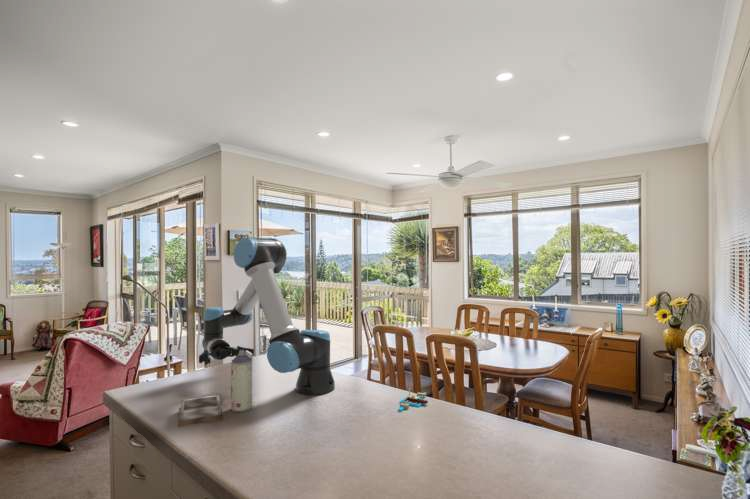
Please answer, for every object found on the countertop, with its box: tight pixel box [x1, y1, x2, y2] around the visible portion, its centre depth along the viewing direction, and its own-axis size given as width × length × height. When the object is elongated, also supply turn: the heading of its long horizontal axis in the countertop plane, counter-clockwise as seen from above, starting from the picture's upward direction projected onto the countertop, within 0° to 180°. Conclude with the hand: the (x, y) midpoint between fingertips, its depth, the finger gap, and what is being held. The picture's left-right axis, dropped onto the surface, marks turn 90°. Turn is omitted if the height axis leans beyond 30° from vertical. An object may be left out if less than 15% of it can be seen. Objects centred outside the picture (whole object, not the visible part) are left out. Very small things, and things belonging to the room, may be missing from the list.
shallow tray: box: [177, 394, 224, 427], centre depth 133 cm, size 13×13×4 cm
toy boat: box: [397, 387, 429, 413], centre depth 144 cm, size 20×5×9 cm
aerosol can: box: [230, 350, 253, 414], centre depth 139 cm, size 7×7×20 cm
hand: (233, 360), depth 147 cm, fingers open, 13 cm apart
